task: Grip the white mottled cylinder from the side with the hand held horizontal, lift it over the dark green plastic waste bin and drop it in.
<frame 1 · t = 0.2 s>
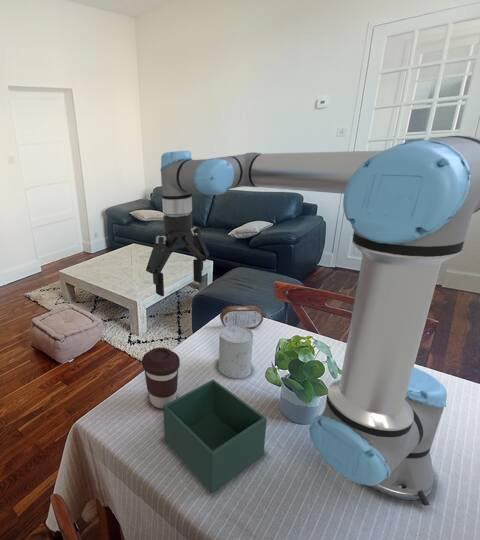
hand: (179, 288, 95), 28 cm above the table, tool pointing down, fingers open, 13 cm apart
bin: (212, 447, 78), on the table
white mottled cylinder: (234, 368, 103), on the table
tin: (241, 327, 125), on the table
coffee cup: (162, 400, 94), on the table
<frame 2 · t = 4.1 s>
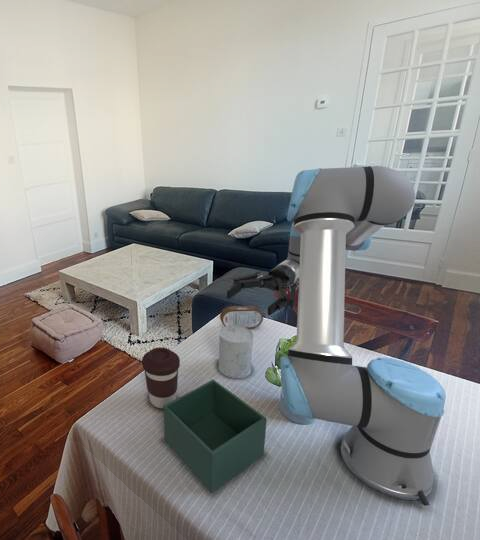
hand: (247, 303, 101), 20 cm above the table, tool horizontal, fingers open, 13 cm apart
nothing on the table moved.
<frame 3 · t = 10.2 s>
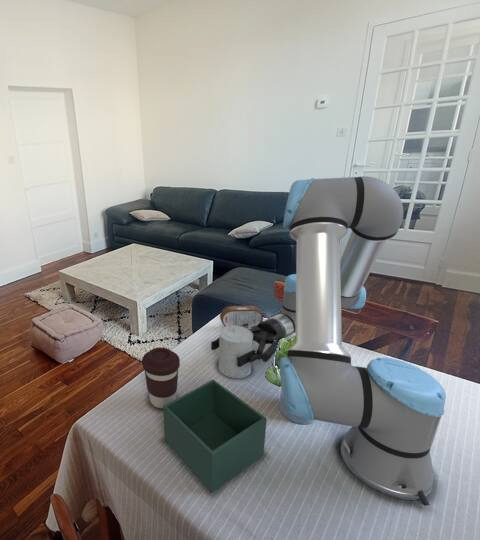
hand: (224, 354, 99), 7 cm above the table, tool horizontal, fingers closed on white mottled cylinder, 9 cm apart
white mottled cylinder: (234, 368, 103), on the table, touching gripper
everything else where it was.
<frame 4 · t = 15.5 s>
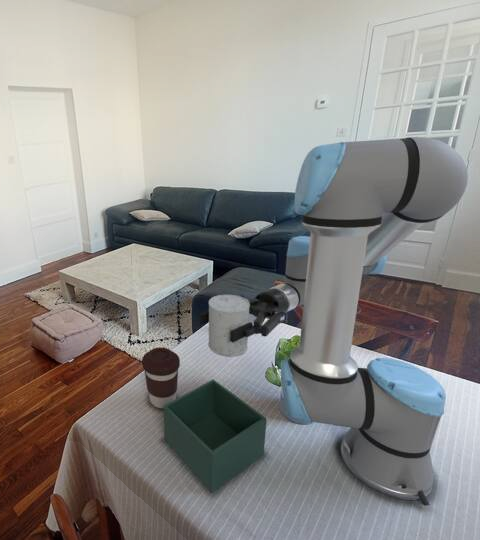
hand: (215, 327, 81), 24 cm above the table, tool horizontal, fingers closed on white mottled cylinder, 9 cm apart
white mottled cylinder: (227, 346, 86), point 17 cm above the table, touching gripper
everything else where it was.
when the fingers open (16 cm above the table, at t = 20.8 s): white mottled cylinder drops 8 cm, resting on bin.
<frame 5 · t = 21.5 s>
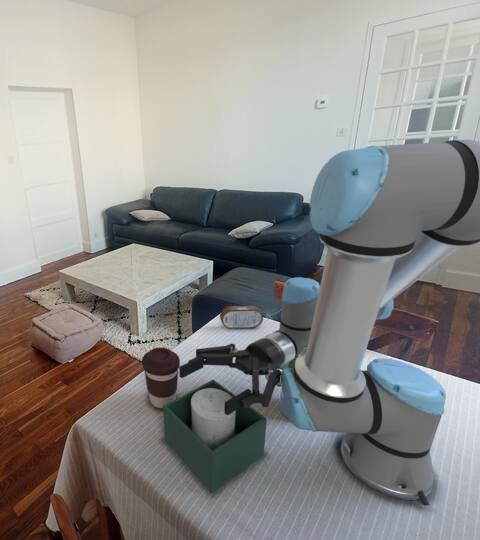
hand: (201, 389, 70), 18 cm above the table, tool horizontal, fingers open, 13 cm apart
white mottled cylinder: (212, 445, 78), resting on bin
everything else where it was.
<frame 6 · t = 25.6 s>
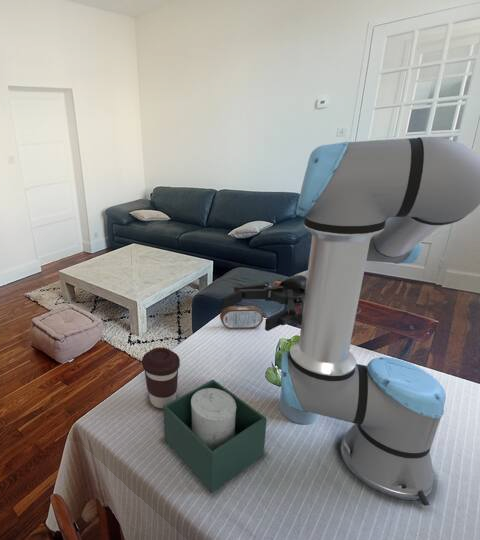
hand: (242, 313, 79), 28 cm above the table, tool horizontal, fingers open, 12 cm apart
nothing on the table moved.
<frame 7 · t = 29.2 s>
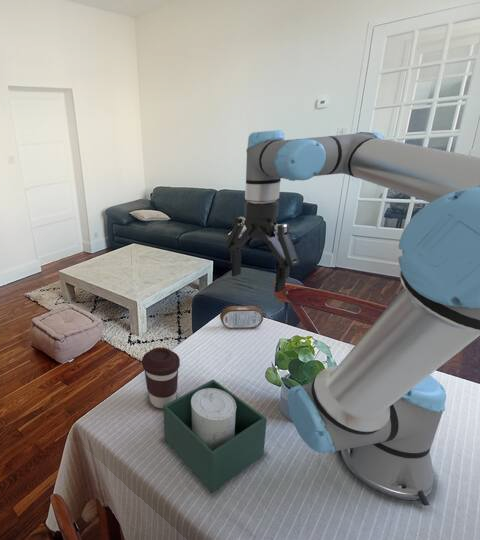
hand: (256, 282, 88), 31 cm above the table, tool pointing down, fingers open, 13 cm apart
nothing on the table moved.
at the end: white mottled cylinder inside the target area in the bin (0.1 cm from its centre), point 0.4 cm above the bin's base; the gripper is holding nothing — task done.
